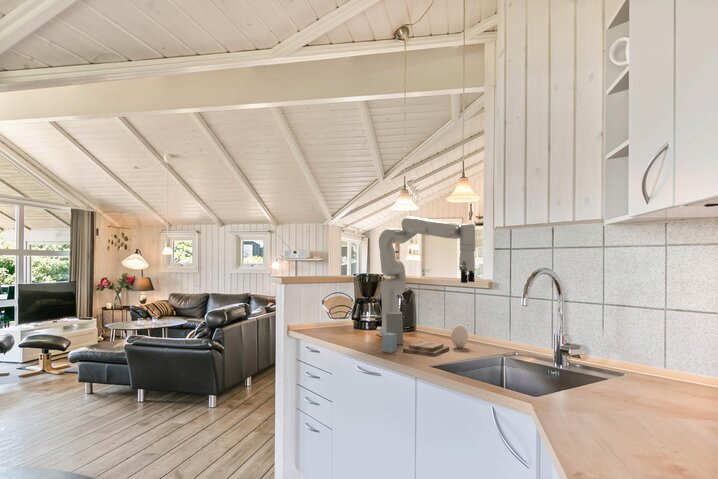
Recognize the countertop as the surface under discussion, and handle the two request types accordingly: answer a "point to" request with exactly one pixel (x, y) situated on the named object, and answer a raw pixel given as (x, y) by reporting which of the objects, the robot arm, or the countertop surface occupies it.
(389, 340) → the slate block
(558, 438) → the countertop surface
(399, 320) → the skincare box
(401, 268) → the robot arm
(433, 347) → the pedestal
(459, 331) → the egg
